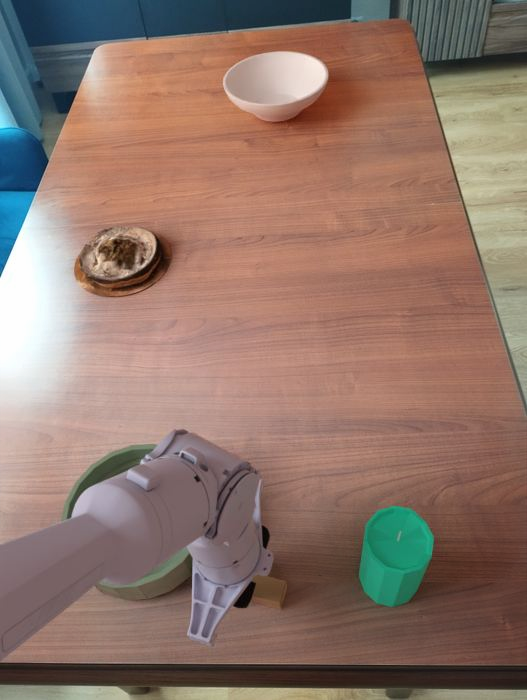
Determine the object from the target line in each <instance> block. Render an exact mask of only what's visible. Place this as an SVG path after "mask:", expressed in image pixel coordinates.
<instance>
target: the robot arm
mask: <svg viewBox="0 0 527 700" xmlns="http://www.w3.org/2000/svg"><path fill="white" fill-rule="evenodd" d="M156 445H157V447H156V448H155V449H154V450H153V451H152V452H151V453H149V454H146V456H145V458H143V459H142V460H141V462H140V465H138V466H135V467H133V468H131V469H129V470H128V471H126V472H123V473H121V474H119V475H116V476H114V477H112V478H109V479H107V480H105V481H102V482H100V483H98V484H96V485H93V486H91V487H89V488H88V489H86V490H85V491H84V492H83V493H82V494H81V495H80V497H79V498H78V500H77V502H76V504H75V506H74V509H73V512H72V517H71V518H70V519H67V520H65V521H62V522H61V521H58V522H57V523H54V524H51V525H49V526H45V527H43V528H41V529H37V530H35V531H33V532H32V531H31V532H29V533H27V534H24V535H20V536H18V537H15V538H13V539H10V540H7V541H5V542H2V543H0V662H2V661H3V660H4V659H5V658H7V657H8V656H10V655H11V654H12V653H13V652H15V650H17V649H18V648H19V647H21V646H22V645H23V644H25V643H26V642H27V641H28V640H30V639H31V638H32V637H33V636H34V635H36V634H37V633H38V632H39V631H40V630H42V629H43V628H44V627H46V626H47V625H48V624H49V623H51V622H52V621H53V620H54V619H55V618H57V617H58V616H59V615H61V614H62V613H63V612H64V611H65V610H67V609H68V608H69V607H71V606H72V605H73V604H74V603H76V602H77V601H78V600H79V599H81V598H82V597H83V596H84V595H85V594H87V593H88V592H89V591H91V590H92V589H93V588H95V587H96V586H95V585H97V584H98V583H99V582H100V581H104V582H107V583H110V584H113V585H129V584H132V583H135V582H136V581H138V580H140V579H141V578H143V577H144V576H145V575H147V574H148V573H150V572H151V571H153V570H154V569H155V568H157V567H158V566H160V565H161V564H163V563H164V562H165V561H167V560H168V559H170V558H171V557H172V556H174V555H175V554H177V553H178V552H180V551H181V550H182V549H184V548H185V547H187V549H188V550H189V552H190V554H191V556H192V558H193V573H192V575H191V578H190V579H191V580H190V589H191V614H190V622H189V626H188V630H187V633H186V635H187V637H188V638H189V639H190V640H191V641H193V642H196V643H198V644H202V645H206V646H208V647H211V648H213V647H214V646H215V643H216V640H217V636H218V635H217V633H216V632H217V630H218V628H219V626H220V625H221V623H222V622H223V621H224V619H225V617H226V616H227V615H228V613H229V612H230V611H231V609H232V608H236V609H248V607H249V606H250V604H251V603H252V601H251V599H252V596H253V593H254V589H255V586H256V583H255V582H252V581H251V580H252V579H253V578H254V577H255V576H256V575H261V576H269V575H270V574H271V570H272V568H273V564H274V560H275V556H274V553H273V551H272V550H270V549H268V546H269V542H270V538H271V534H270V531H269V529H268V528H267V526H265V525H263V524H262V506H261V504H262V503H261V497H262V496H263V493H264V490H265V485H264V481H263V478H261V468H258V469H256V468H255V467H252V464H251V462H249V460H247V459H244V458H242V457H241V456H238V454H237V455H236V454H235V453H233V452H231V451H229V450H227V449H225V448H223V447H222V446H220V445H218V444H216V443H214V442H211V441H210V440H208V439H206V438H204V437H202V436H201V435H198V434H197V433H195V432H190V431H188V430H187V429H184V428H179V429H175V428H174V429H173V430H171V431H169V433H167V434H166V435H165V436H164V437H163V438H162V439H161V441H159V443H158V444H156Z"/></svg>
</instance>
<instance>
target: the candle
mask: <svg viewBox="0 0 527 700" xmlns="http://www.w3.org/2000/svg"><path fill="white" fill-rule="evenodd" d="M362 541H363V542H362V549H361V555H360V562H359V569H358V579H359V582H360V585H361V587H362V591H363V592H364V593H365V594H366V595H367V596H368V597H369V598H370V599H371V600H372V601H374V602H375V603H376V604H378V605H381V606H382V605H383V606H386V607H391V608H394V607H398V606H401V605H404V604H407V603H409V602H410V600H411V599H412V598H413V597H414V595H415V594H416V593H417V592H418V590H419V588H420V585H421V583H422V581H423V578H424V575H425V574H426V571H427V568H428V566H429V564H430V562H431V559H432V558H433V550H434V549H433V548H434V541H435V537H434V534H433V532H432V531H431V529H430V527H429V525H428V523H427V521H426V520H425V519H424V518H423V517H421V516H420V515H419V514H418V513H417V512H416V511H415V510H413V508H409V507H403V506H400V505H399V506H398V505H392V506H388V507H385V508H382V509H377V511H375V512H374V514H373V515H372V516H371V517H370V519H369V520H368V521H367V522H366V524H365V529H364V533H363V540H362Z"/></svg>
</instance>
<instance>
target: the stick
mask: <svg viewBox="0 0 527 700" xmlns="http://www.w3.org/2000/svg"><path fill="white" fill-rule="evenodd" d="M251 581H252V582H255V583H256V586H255V589H254V593H253V596H252V599H251V602H252V603H253V602H254V603H256V604H259V605H263V606H266V607H270V608H273V609H277V610H280V611H281V610H282V608H283V605H284V601H285V597H286V593H287V590H288V586H287V582H286V580H282V579H279V578H276V577H272V576H269V575H267V576H261V575H256V576H255V577H254V578H253V579H252V580H251Z"/></svg>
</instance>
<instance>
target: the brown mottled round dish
mask: <svg viewBox="0 0 527 700" xmlns="http://www.w3.org/2000/svg"><path fill="white" fill-rule="evenodd" d="M91 239H93V240H91V241H90V242H88V243H86V244H84V246H83V247H82V249H81V251H80V252H79V254H78V255H77V257H76V259H75V262H74V267H73V272H74V278H75V280H76V282H77V284H78V285H79V286H80V287H81V288H82V289H84V290H85V291H87V292H89V293H91V294H93V295H98V296H102V297H108V298H109V297H123V296H128V295H131V294H135V293H139V292H142V291H143V290H145V289H147V288H149V287H151V286H152V285H153V284H155V283H157V281H159V280H160V279H161V278H162V277H163V276H164V274H165V273H166V271H167V269H168V268H169V266H170V263H171V259H172V252H171V251H172V250H171V247H170V245H169V243H168V241H167V240H166V239H165V238H164V237H162V235H160V234H158V233H156V232H154V231H151V230H148V229H147V228H143V227H139V226H135V227H134V226H113V227H109V228H104V229H102V230H100V231H98V232H97V234H96V235H95V236H94V237H93V236H92V237H91Z"/></svg>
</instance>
